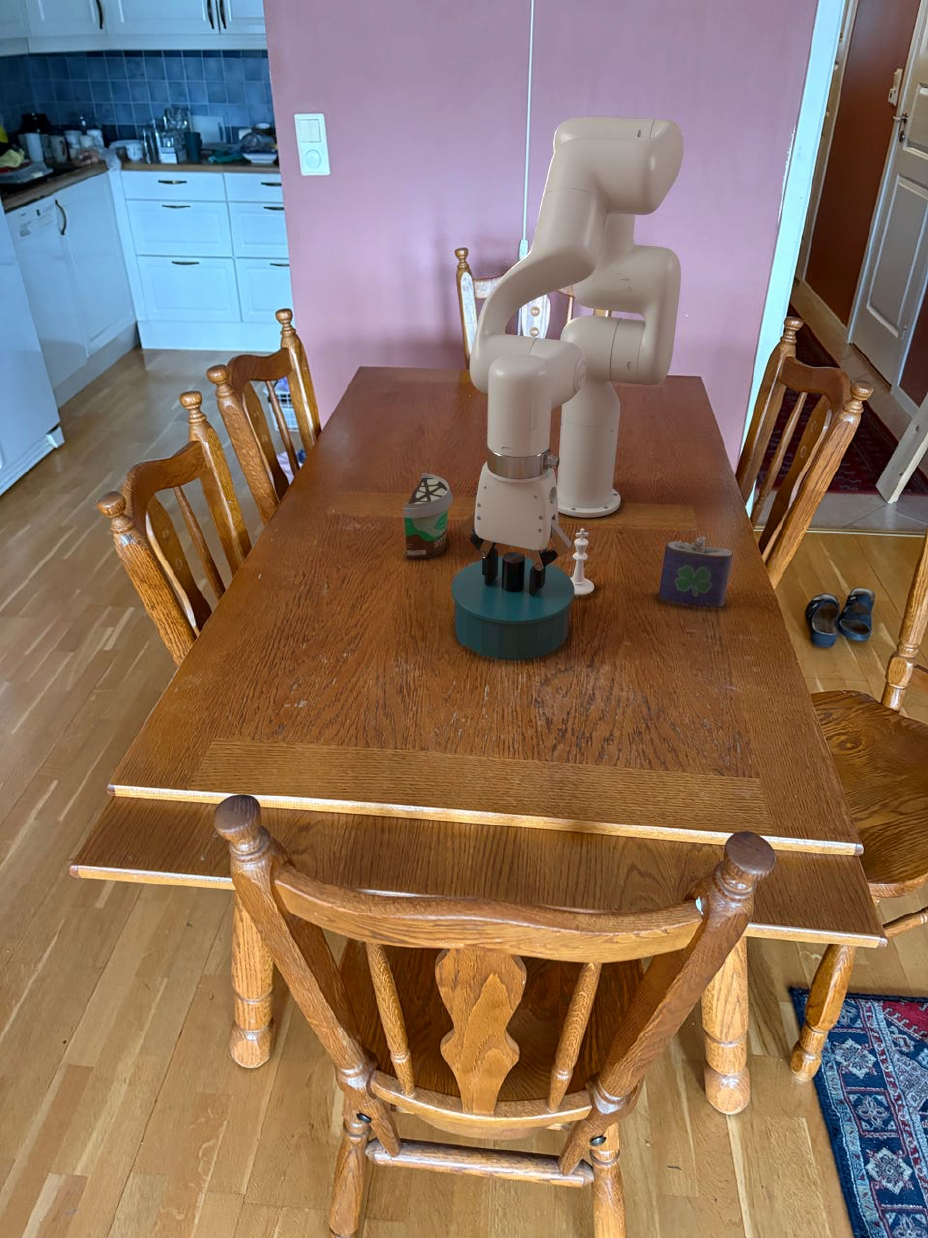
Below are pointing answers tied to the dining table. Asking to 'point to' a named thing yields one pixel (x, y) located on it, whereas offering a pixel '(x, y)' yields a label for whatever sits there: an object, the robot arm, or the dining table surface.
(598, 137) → the robot arm
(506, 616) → the pot lid
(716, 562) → the flask
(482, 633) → the pot
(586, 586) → the chess piece
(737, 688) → the dining table surface
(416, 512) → the food container
